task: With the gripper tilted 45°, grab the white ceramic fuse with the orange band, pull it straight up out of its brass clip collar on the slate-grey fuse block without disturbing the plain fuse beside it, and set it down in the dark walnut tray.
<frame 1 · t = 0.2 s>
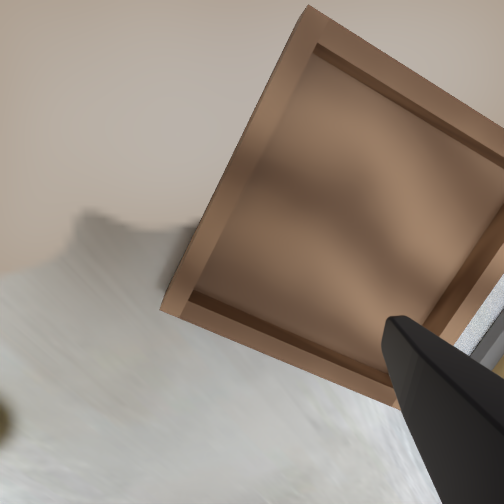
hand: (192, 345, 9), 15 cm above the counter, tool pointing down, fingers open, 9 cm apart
tray: (350, 231, 25), on the counter
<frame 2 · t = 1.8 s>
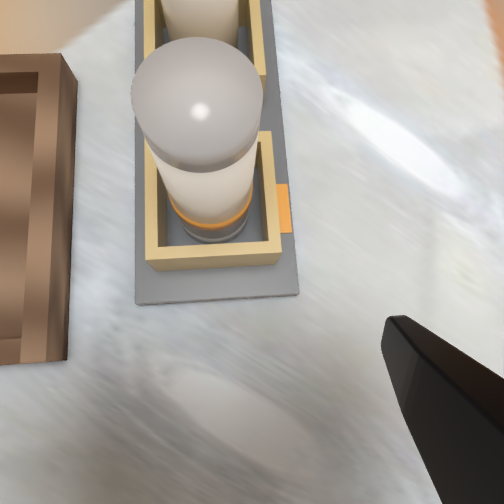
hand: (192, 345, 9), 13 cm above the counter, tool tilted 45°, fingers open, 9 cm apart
fuse block: (214, 217, 24), on the counter
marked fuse: (214, 211, 23), point 1 cm above the counter, touching fuse block
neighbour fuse: (206, 62, 25), point 1 cm above the counter, touching fuse block
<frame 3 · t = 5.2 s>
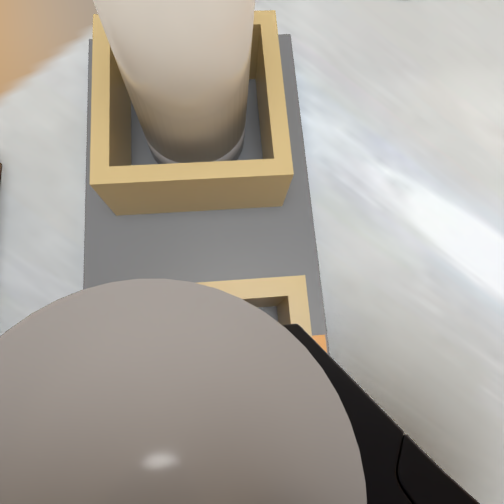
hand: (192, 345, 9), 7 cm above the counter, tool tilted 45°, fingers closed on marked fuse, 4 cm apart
fuse block: (210, 384, 15), on the counter
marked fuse: (209, 386, 14), point 1 cm above the counter, touching fuse block, gripper
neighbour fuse: (196, 136, 16), point 1 cm above the counter, touching fuse block
when the fingers open (8 cm above the counter, at t = 10.4 s): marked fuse drops 1 cm, resting on tray.
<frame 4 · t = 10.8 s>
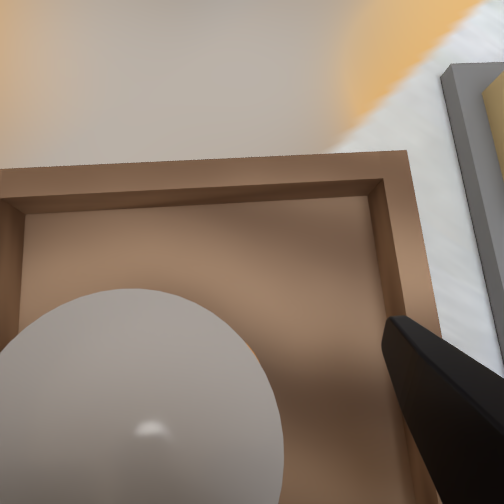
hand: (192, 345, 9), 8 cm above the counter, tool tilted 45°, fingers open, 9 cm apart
tray: (211, 381, 16), on the counter
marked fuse: (210, 383, 15), point 1 cm above the counter, touching tray
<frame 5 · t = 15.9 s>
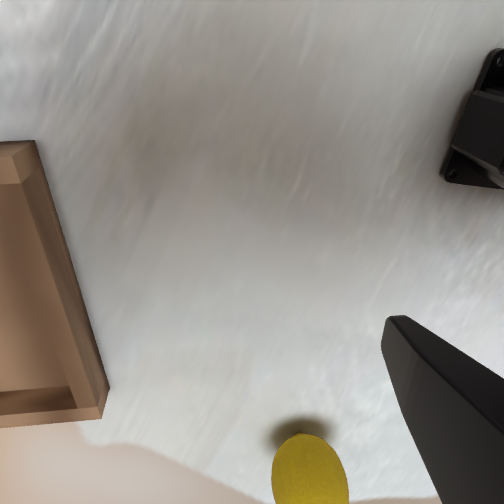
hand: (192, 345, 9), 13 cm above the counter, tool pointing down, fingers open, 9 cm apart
lemon: (298, 431, 33), on the counter
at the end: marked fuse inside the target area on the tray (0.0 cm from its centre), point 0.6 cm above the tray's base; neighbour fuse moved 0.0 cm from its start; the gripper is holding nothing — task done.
